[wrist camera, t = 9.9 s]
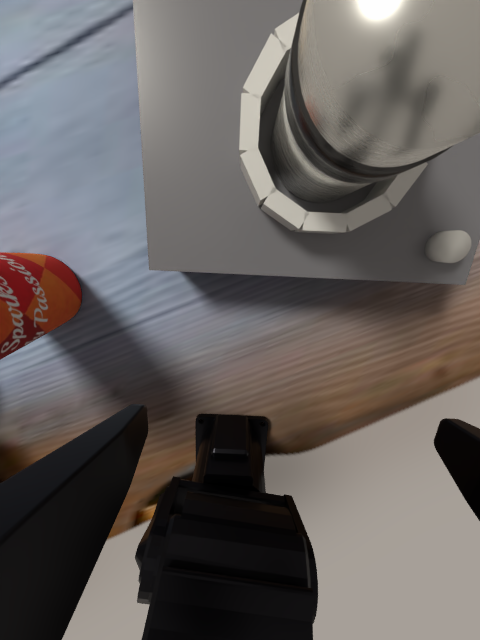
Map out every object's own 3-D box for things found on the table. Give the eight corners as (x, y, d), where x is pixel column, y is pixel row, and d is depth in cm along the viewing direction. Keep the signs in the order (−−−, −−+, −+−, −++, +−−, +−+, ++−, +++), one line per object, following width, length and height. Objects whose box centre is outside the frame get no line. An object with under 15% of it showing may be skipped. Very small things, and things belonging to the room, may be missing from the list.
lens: (368, 207, 13) (540, 157, 6) (265, 202, 13) (293, 148, 6) (390, 79, 12) (673, -236, 4) (273, 75, 12) (329, -249, 4)
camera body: (409, 274, 19) (499, 291, 12) (172, 262, 19) (134, 274, 12) (462, 58, 15) (632, -85, 9) (165, 43, 15) (104, -112, 9)
